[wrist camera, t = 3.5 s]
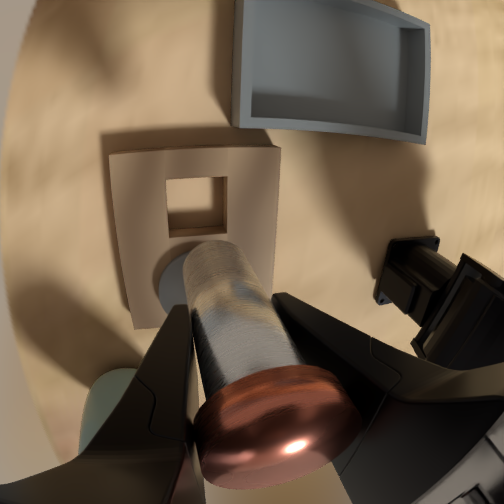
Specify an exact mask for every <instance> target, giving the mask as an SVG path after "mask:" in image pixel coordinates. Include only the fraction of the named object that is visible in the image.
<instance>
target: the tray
mask: <svg viewBox="0 0 504 504" xmlns="http://www.w3.org/2000/svg"><path fill="white" fill-rule="evenodd" d="M430 70H431V44H430V24H428V23H426V22H424V21H422V20H420V19H418V18H415V17H413V16H411V15H409V14H406V13H404V12H402V11H399V10H397V9H394V8H392V7H389V6H387V5H384V4H381V3H379V2H376V1H373V0H235V9H234V32H233V58H232V89H231V126H233V127H237V128H264V129H290V130H307V131H321V132H333V133H344V134H353V135H362V136H370V137H378V138H385V139H392V140H399V141H405V142H411V143H417V144H423V145H426V136H427V125H428V113H429V98H430Z"/></svg>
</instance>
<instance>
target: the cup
mask: <svg viewBox="0 0 504 504" xmlns="http://www.w3.org/2000/svg"><path fill="white" fill-rule="evenodd" d="M136 371H137V369H135V368H119V369H114V370H111V371H108V372H106V373H104V374H103V375H101V376H100V377H99V378H98V379H97V380H96V381H95V382H94V383H93V385H92V387H91V388H90V390H89V393H88V395H87V398H86V401H85V405H84V409H83V415H82V421H81V429H80V439H79V451H78V455H79V454H80V453H81V452H82V451H83V450H84V449H85V447H86V446H87V445H88V443H89V442H90V441H91V439H92V438H93V437H94V435H95V434H96V432H97V431H98V430H99V428H100V427H101V426H102V424H103V423H104V422H105V420H106V419H107V417H108V416H109V415H110V413H111V412H112V410H113V409H114V408H115V406H116V405H117V403H118V402H119V400H120V399H121V397H122V395H123V394H124V392H125V390H126V389H127V387H128V385H129V383H130V381H131V379H132V378H133V377H134V374H135V372H136Z"/></svg>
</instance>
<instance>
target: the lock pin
mask: <svg viewBox="0 0 504 504" xmlns="http://www.w3.org/2000/svg"><path fill="white" fill-rule="evenodd" d="M183 278H184V285H185V291H186V298H187V304H188V309H189V314H190V319H191V324H192V333H193V338H194V343H195V349H196V354H197V359H198V364H199V369H200V374H201V379H202V384H203V388H204V393H205V397H206V401H205V403H204V404H203V405H202V406H201V407H200V408H199V410H198V412H197V413H196V415H195V418H194V420H193V432H194V439H195V444H196V449H197V454H198V459H199V464H200V468H201V473H202V475H203V477H204V478H205V479H206V480H207V481H209V482H210V483H211V484H214V485H216V486H219V487H223V488H228V489H256V488H264V487H270V486H274V485H278V484H282V483H286V482H289V481H292V480H294V479H297V478H300V477H302V476H305V475H307V474H309V473H311V472H313V471H315V470H317V469H319V468H321V467H323V466H324V465H326V464H327V463H329V462H331V461H332V460H333V459H335V458H336V457H337V456H339V455H340V454H341V453H342V452H344V451H345V450H346V449H347V448H348V447H349V446H350V445H351V444H352V442H353V441H354V440H355V439H356V437H357V436H358V434H359V432H360V430H361V427H362V417H361V414H360V413H359V411H358V410H357V408H356V407H355V405H354V404H353V402H352V400H351V399H350V397H349V396H348V394H347V393H346V391H345V389H344V388H343V386H342V385H341V383H340V382H339V380H338V379H337V377H336V376H335V375H334V374H333V373H332V372H330V371H328V370H326V369H324V368H321V367H318V366H311V365H307V364H306V362H305V361H304V359H303V357H302V355H301V354H300V352H299V350H298V348H297V347H296V345H295V343H294V341H293V340H292V338H291V336H290V334H289V332H288V331H287V329H286V327H285V325H284V324H283V322H282V320H281V318H280V317H279V315H278V313H277V311H276V310H275V308H274V306H273V304H272V302H271V301H270V299H269V297H268V295H267V294H266V292H265V290H264V288H263V287H262V285H261V283H260V281H259V279H258V278H257V276H256V274H255V272H254V271H253V269H252V267H251V265H250V263H249V262H248V260H247V258H246V256H245V255H244V253H243V251H242V250H241V249H240V248H239V247H238V246H236V245H235V244H233V243H231V242H229V241H225V240H210V241H207V242H204V243H202V244H200V245H198V246H197V247H195V248H194V249H193V250H192V251H191V252H190V253H189V254H188V256H187V257H186V259H185V261H184V265H183Z"/></svg>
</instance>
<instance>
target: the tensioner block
mask: <svg viewBox="0 0 504 504" xmlns="http://www.w3.org/2000/svg"><path fill="white" fill-rule="evenodd" d="M280 161H281V147H278V146H275V145H206V146H183V147H166V148H152V149H140V150H129V151H119V152H112V153H111V154H110V155H109V167H110V179H111V190H112V200H113V209H114V218H115V226H116V233H117V240H118V247H119V254H120V260H121V266H122V272H123V277H124V283H125V288H126V293H127V298H128V303H129V308H130V312H131V317H132V322H133V326H134V330H135V329H148V328H159V327H161V326H162V324H163V323H164V321H165V319H166V317H167V316H168V314H169V312H170V310H171V309H172V307H173V306H174V305H178V304H187V298H186V291H185V285H184V278H183V265H184V261H185V259H186V257H187V256H188V254H189V253H190V252H191V251H192V250H193V249H194V248H195V247H197V246H198V245H200V244H202V243H204V242H207V241H210V240H225V241H229V242H231V243H233V244H235V245H236V246H238V247H239V248H240V249H241V250H242V251H243V253H244V255H245V256H246V258H247V260H248V262H249V263H250V265H251V267H252V269H253V271H254V272H255V274H256V276H257V278H258V279H259V281H260V283H261V285H262V287H263V288H264V290H265V292H266V294H267V295H268V297H269V299H270V301H271V297H272V287H273V273H274V259H275V244H276V229H277V213H278V196H279V179H280ZM222 176H223V226H211V227H197V228H184V229H172V230H169V229H168V214H167V197H166V180H168V179H183V178H200V177H222ZM187 305H188V304H187Z"/></svg>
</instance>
